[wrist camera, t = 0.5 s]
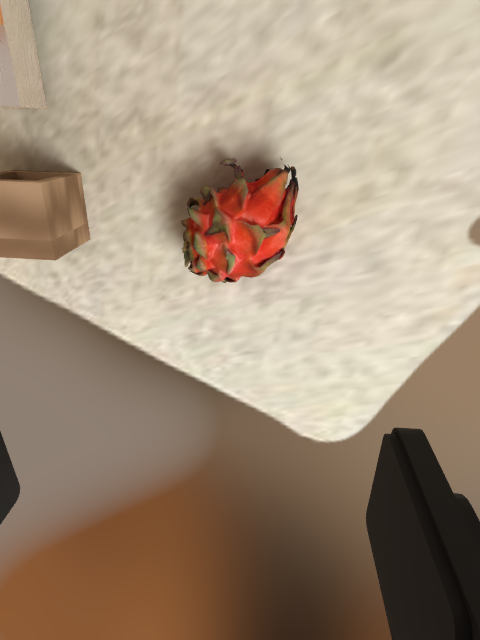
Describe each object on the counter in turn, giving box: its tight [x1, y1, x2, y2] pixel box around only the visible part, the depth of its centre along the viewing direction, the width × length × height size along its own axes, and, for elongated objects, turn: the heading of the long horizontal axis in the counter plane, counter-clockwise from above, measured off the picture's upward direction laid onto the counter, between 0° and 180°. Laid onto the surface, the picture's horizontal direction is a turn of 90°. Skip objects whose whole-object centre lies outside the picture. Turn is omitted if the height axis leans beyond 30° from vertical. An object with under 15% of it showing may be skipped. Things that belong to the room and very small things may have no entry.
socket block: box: [0, 170, 90, 260], centre depth 33 cm, size 6×6×7 cm
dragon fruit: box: [181, 158, 299, 283], centre depth 32 cm, size 8×8×12 cm
